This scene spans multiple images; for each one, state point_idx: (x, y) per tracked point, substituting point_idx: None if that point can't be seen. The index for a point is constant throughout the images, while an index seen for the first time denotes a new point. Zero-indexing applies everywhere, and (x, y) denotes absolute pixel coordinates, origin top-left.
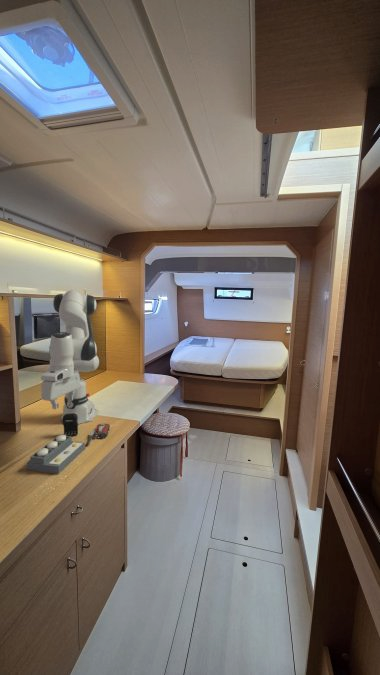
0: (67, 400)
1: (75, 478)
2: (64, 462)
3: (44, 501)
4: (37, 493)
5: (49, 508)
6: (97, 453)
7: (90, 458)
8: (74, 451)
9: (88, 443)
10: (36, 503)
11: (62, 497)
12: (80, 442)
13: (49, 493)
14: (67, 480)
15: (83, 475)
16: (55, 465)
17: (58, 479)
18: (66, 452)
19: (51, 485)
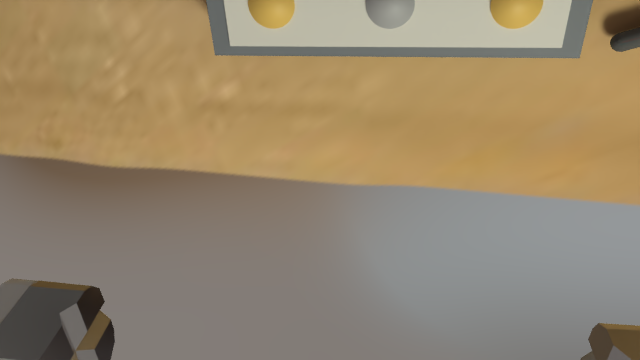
0: (606, 334)
1: (227, 149)
2: (282, 52)
3: (35, 103)
4: (52, 31)
5: (21, 149)
6: (501, 150)
7: (433, 135)
8: (422, 50)
9: (625, 48)
10: (7, 76)
11: (93, 163)
12: (584, 16)
13: (83, 91)
14: (198, 119)
15: (262, 174)
16: (218, 25)
17: (186, 67)
18: (386, 3)
19: (131, 62)
